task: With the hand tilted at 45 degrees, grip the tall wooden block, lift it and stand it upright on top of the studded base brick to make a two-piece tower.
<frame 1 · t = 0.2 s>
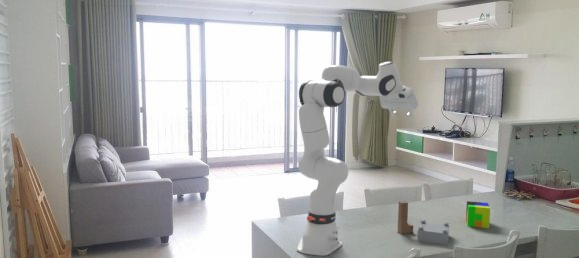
hand: (402, 115, 243), 54 cm above the table, tool tilted 30°, fingers open, 8 cm apart
base brick: (433, 238, 221), on the table
wooden block: (405, 232, 228), on the table
puzzle toy: (477, 224, 242), on the table
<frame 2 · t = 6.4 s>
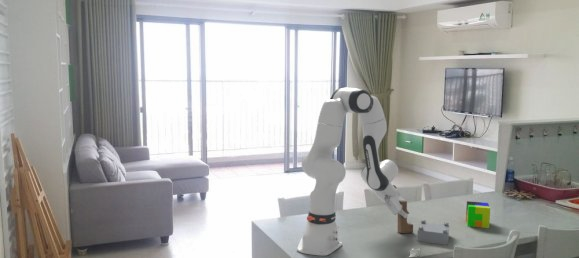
hand: (407, 215, 227), 8 cm above the table, tool tilted 45°, fingers closed on wooden block, 4 cm apart
wooden block: (405, 232, 228), on the table, touching gripper
everything else where it was.
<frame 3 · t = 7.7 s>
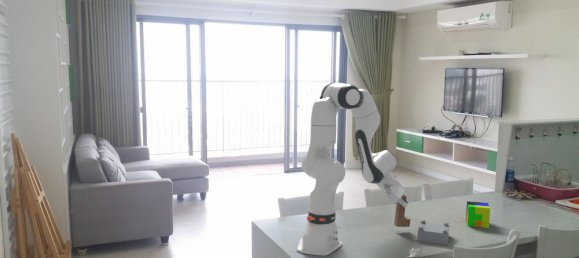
hand: (406, 205, 226), 13 cm above the table, tool tilted 45°, fingers closed on wooden block, 4 cm apart
wooden block: (401, 226, 229), point 3 cm above the table, touching gripper
everything else where it was.
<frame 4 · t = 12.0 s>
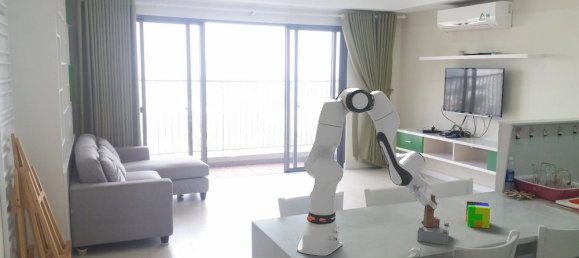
hand: (436, 206, 219), 15 cm above the table, tool tilted 45°, fingers closed on wooden block, 4 cm apart
wooden block: (431, 226, 222), point 5 cm above the table, touching base brick, gripper
everything else where it was.
when the fingers open (15 cm above the table, at t = 12.5 s): wooden block stays where it is, resting on base brick.
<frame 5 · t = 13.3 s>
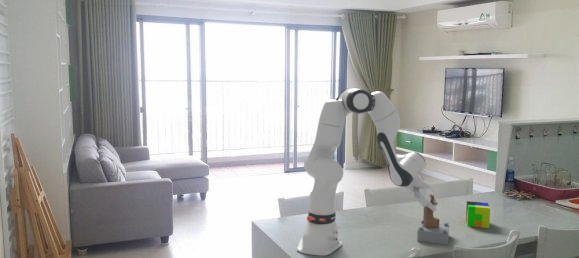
hand: (436, 207, 219), 14 cm above the table, tool tilted 45°, fingers open, 8 cm apart
wooden block: (431, 226, 222), point 5 cm above the table, touching base brick
everything else where it was.
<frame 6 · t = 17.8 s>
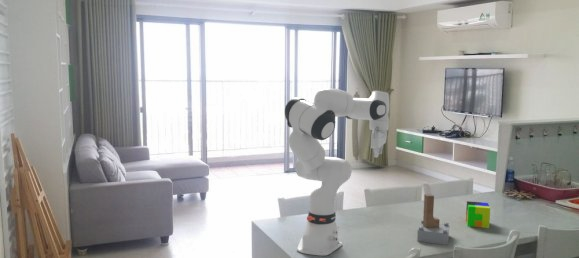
hand: (378, 155, 223), 37 cm above the table, tool pointing down, fingers open, 8 cm apart
nothing on the table moved.
at the end: wooden block 1.7 cm off-centre on the base brick, point 4.8 cm above the base brick's base; wooden block tilted 0°; the gripper is holding nothing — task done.
